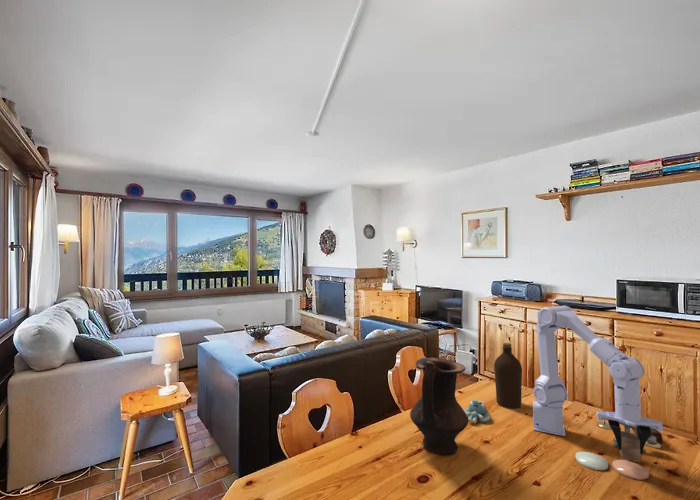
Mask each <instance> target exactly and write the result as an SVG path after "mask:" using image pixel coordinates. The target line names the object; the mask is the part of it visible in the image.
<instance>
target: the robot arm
mask: <svg viewBox="0 0 700 500" xmlns="http://www.w3.org/2000/svg"><path fill="white" fill-rule="evenodd" d="M577 314H578V313H577V312H576V311H575V310H573V309H572V308H571V307H570V306H568V305H560V306H557V305H556V306H543V307H542V308H541V309H540V310H539V311H537V323H536V335H537V346H538V358H539V359H538V360H539V361H538V362H539V370H540V371H539V372H540V375H539V376H538V378H536V380H534V388H533V395H534V398H535V400H533V401H532V413H533V414H532V423H533V430H534V431H538V432H543V433H547V434H551V435H552V434H553V435H558V436H560V437H561V436H562V437H565V436H566V431H565V425H564V411H563V410H564V407H563V405H564V404H565V402H566V401H567V400H568V397H569V396H568V392H567V389H566V386H565V381H564V380H563V379H561V378H560V377H559V369H558V356H557V346H556V336H555V332H556V331H557V330H559V328H567V329H569V330H571V331H572V332H573V333H574V334H575V335H577V336H578V337H579V338H580V339H582V340H583V341H585V343H587V345H589V350H590V352H591V353H592V354H593V355H595V356H596V357H597V358H598V359H599V360H600V361H601V362H603V363H604V365H606V366H607V368H608V369H607V370H608V372H609V374H610V376H611V377H612V383H613V384H614V386H613V387H614V406H615V411H600V410H596V418H597V421H604V420H605V421H606V422H607V423H609V425H610V427H611V429H612V430H611V431H612V433H613V435H614V437H615V440H616V442H617V447H618V448H617V449H618V450H619V451H620V450H621V431H622V429H621V424H619V423H624V424H627V425H632V426H636V427H637V436H638V438H639V440H640V455H643V454H644V453H643V451H644V448H645V446H646V445H645V443H646V441H647V440H648V438H649V437H650V436H651V433H652V432H651V430H650V428H652V429H656V430H658V431H659V432H664V426H663V425H664V424H663V423H662V421H660V420H656V419H651V418H647V417H644V416H642V406H641V383H640V381H641V380H640V379H641V378H642V377H643V376H644V375H645V368H644V365H643V364H642V363H641V361H639V360H638V359H637V358H635V357H633V356H632V357H631V356H628V355H627V354H626V353H624V352H623V351H621V350H620V349H619V348H618V347H616V346H615V345H614V344H613V343H614V342H612V340H611V339H607V338H604V337H599V336H598V335H597V334H595V333H594V331H593V330H592V329H591V328H590V327H588V325H586V324H585V322H584V321H582V320H581V319H580V318H579V317H578V315H577Z"/></svg>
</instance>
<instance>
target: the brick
mask: <svg viewBox="0 0 700 500" xmlns="http://www.w3.org/2000/svg"><path fill="white" fill-rule="evenodd" d="M650 430H651V432H652V436H654V437H656V442H658V443H660V445H661V446H662V444H663V436H662V432H661V431H658V430H657V429H652V428H650ZM631 431H632V432H633V433H635V434H637V430H635V429H632V428H631Z"/></svg>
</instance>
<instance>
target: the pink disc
mask: <svg viewBox="0 0 700 500" xmlns="http://www.w3.org/2000/svg"><path fill="white" fill-rule="evenodd" d="M611 467H612V468H613V469H614V471H615V472H617V473H618V474H620V475H622V476H624V477H626V478H630V479H632V480H639V481H644V480H645V481H646V480H648V479H649V478H650V474H649V473H650V472H649V470H647V468H645V467H644V466H642V465H640V464H638V463H636V462H634V461H631V460H627V459H615V460H613V461H612V466H611Z"/></svg>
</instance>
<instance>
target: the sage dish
mask: <svg viewBox="0 0 700 500" xmlns="http://www.w3.org/2000/svg"><path fill="white" fill-rule="evenodd" d="M574 455H575V460H576V462H577V463H578V464H580V465H581V466H582V467H585V468H588V469H590V470H591V469H592V470H595V471H606V470H608V469H609V462H608V460H607V459H606V458H604V457H603V456H601V455H598V454H596V453H592V452H590V451H589V452H588V451H578V452H576V453H575V454H574Z"/></svg>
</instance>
